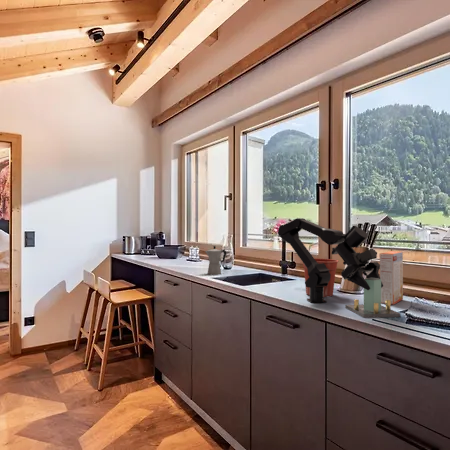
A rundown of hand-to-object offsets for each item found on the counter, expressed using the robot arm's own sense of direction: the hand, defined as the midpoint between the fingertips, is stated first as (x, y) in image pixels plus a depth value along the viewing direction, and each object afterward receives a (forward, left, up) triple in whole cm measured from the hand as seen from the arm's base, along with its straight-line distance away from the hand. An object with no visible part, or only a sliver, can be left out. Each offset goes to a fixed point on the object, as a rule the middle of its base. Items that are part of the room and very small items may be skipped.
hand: (376, 288), depth 135 cm
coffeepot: (-112, -49, -9) cm, 123 cm away
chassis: (-2, 0, -9) cm, 10 cm away
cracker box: (-20, +18, -9) cm, 29 cm away
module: (-1, -1, -8) cm, 8 cm away
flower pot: (-37, -7, -9) cm, 39 cm away
